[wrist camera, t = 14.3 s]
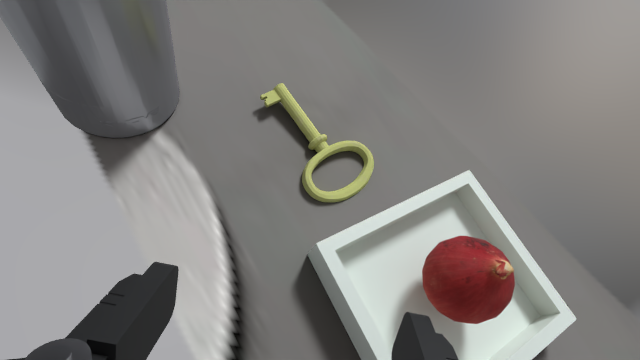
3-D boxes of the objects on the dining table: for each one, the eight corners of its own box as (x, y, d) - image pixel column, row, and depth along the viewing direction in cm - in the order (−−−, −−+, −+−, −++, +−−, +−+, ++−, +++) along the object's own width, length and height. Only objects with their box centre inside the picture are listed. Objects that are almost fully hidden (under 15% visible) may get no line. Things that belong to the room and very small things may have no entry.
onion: (403, 246, 29) (460, 209, 22) (466, 257, 30) (541, 226, 23) (404, 322, 26) (470, 308, 19) (473, 332, 27) (561, 322, 20)
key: (274, 91, 34) (277, 76, 32) (378, 164, 34) (388, 153, 32) (225, 138, 31) (225, 124, 29) (340, 221, 30) (348, 212, 28)
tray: (307, 254, 27) (316, 243, 25) (450, 184, 34) (469, 170, 31) (404, 443, 23) (427, 453, 21) (545, 322, 30) (576, 319, 27)
